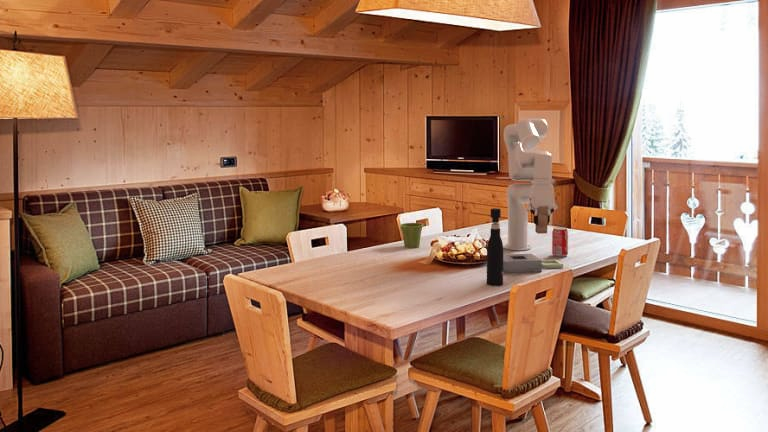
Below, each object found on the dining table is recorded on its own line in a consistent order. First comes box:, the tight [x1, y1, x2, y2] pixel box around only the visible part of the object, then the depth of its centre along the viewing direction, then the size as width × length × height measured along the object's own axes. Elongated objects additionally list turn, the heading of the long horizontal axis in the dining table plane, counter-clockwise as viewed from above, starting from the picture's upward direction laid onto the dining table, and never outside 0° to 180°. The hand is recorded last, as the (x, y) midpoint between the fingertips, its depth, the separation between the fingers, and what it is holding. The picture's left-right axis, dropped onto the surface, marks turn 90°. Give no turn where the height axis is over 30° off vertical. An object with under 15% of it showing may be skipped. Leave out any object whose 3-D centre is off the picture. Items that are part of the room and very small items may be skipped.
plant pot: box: [399, 222, 424, 249], centre depth 373 cm, size 12×12×11 cm
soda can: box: [551, 226, 569, 258], centre depth 348 cm, size 7×7×13 cm
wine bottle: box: [486, 207, 504, 287], centre depth 296 cm, size 6×6×30 cm
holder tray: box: [541, 259, 564, 270], centre depth 328 cm, size 9×9×2 cm
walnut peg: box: [535, 206, 548, 235], centre depth 323 cm, size 4×4×16 cm
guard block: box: [503, 253, 543, 274], centre depth 323 cm, size 14×16×5 cm
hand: (541, 223), depth 324 cm, fingers closed on walnut peg, 4 cm apart
